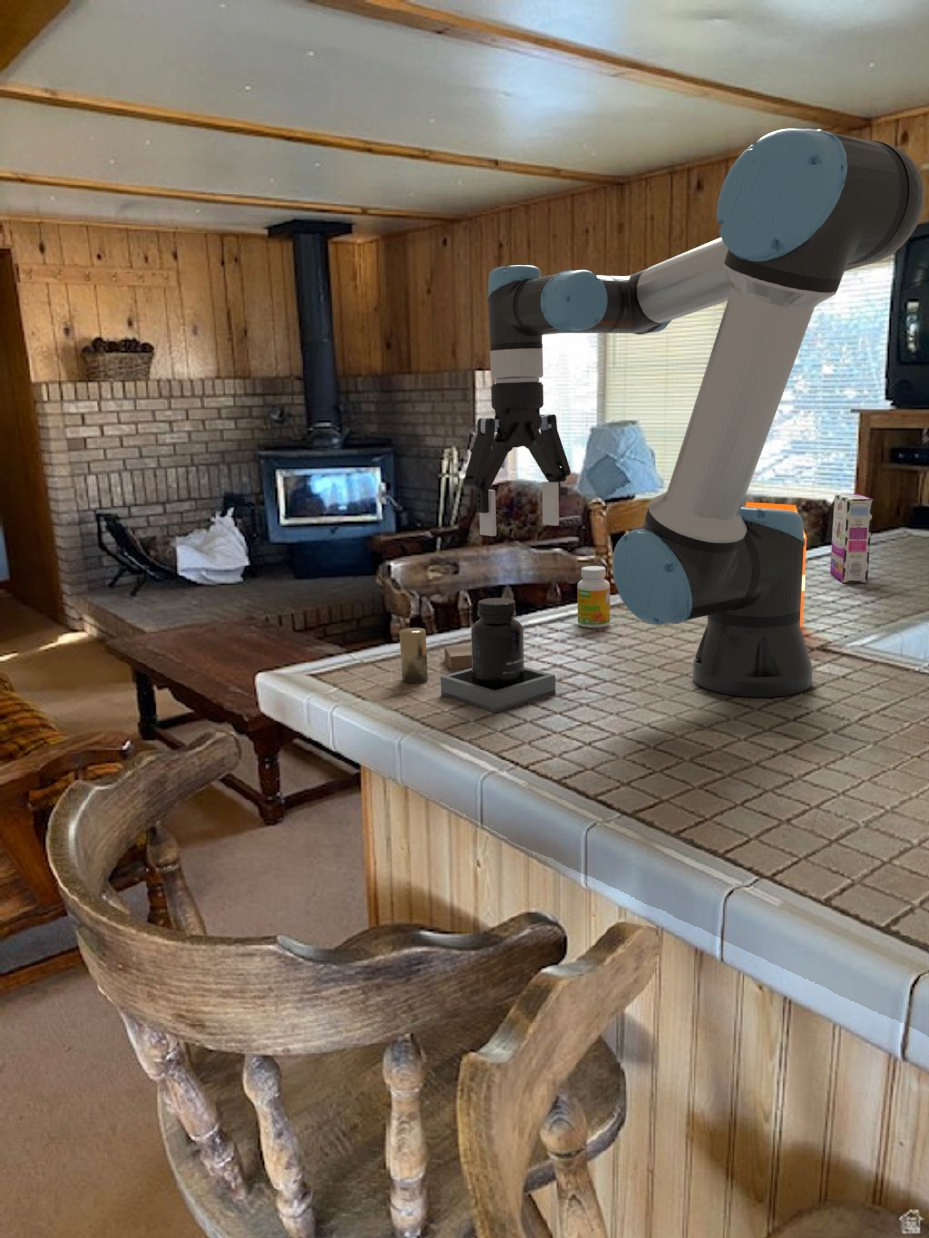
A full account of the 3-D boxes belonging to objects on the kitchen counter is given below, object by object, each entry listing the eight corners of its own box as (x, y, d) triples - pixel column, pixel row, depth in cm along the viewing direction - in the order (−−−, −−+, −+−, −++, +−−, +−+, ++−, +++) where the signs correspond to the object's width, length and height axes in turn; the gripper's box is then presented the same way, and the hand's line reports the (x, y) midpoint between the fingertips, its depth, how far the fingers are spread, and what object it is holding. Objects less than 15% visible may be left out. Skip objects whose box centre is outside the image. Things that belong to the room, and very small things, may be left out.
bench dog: (433, 679, 132) (430, 630, 131) (412, 684, 130) (409, 635, 128) (417, 674, 135) (414, 626, 133) (397, 679, 133) (394, 631, 131)
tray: (555, 693, 124) (555, 675, 123) (495, 712, 117) (494, 693, 117) (500, 677, 132) (500, 660, 131) (441, 694, 125) (440, 676, 124)
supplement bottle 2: (573, 627, 158) (573, 570, 156) (582, 620, 163) (581, 564, 161) (605, 629, 156) (605, 571, 154) (613, 622, 161) (613, 565, 159)
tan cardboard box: (512, 668, 138) (512, 651, 137) (451, 673, 136) (450, 656, 136) (503, 657, 143) (503, 641, 143) (444, 662, 142) (444, 646, 141)
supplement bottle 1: (521, 699, 120) (518, 607, 117) (468, 698, 122) (464, 606, 119) (528, 683, 127) (525, 595, 124) (477, 682, 128) (474, 595, 125)
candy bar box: (869, 583, 184) (874, 498, 180) (842, 584, 184) (846, 499, 181) (854, 573, 194) (859, 492, 191) (829, 573, 195) (833, 493, 191)
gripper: (557, 380, 147) (559, 518, 152) (434, 383, 131) (441, 537, 136) (593, 378, 141) (594, 522, 146) (470, 382, 126) (475, 542, 131)
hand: (520, 530), depth 141 cm, fingers open, 12 cm apart
